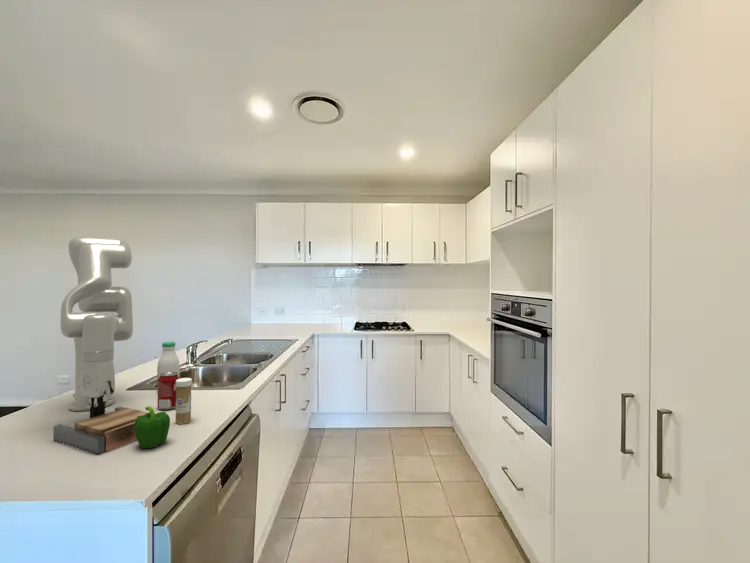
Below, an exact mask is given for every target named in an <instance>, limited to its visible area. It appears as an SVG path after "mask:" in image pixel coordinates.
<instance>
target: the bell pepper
mask: <svg viewBox="0 0 750 563" xmlns="http://www.w3.org/2000/svg"><path fill="white" fill-rule="evenodd" d="M144 409H145V411H147V412H148V411H149V412H148V413H147V414H145V415H142V416H138V417H137V419H136V421H135V424H134V431H135V435H136V438H137V440H136V441H137V444H138V445H139V446H140V447H141V448H143V449H151V448H155V447H157V446H159V445H161V444H163V443H165V442H166V440H167V438H168V434H169V431H170V427H171V418H170V416H169V414H168V413H166V412H165V411H159V412H157V413H155V409H154V408H153V407H151V406H149V405H148V406H145V407H144Z"/></svg>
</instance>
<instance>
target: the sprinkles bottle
mask: <svg viewBox="0 0 750 563" xmlns="http://www.w3.org/2000/svg"><path fill="white" fill-rule="evenodd" d="M192 385H193V379H192V378H191V377H180V379H177V380H176V408H175V422H174V423H175V424H178V425H183V424H188V423H190V422H191V421H192Z"/></svg>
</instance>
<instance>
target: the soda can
mask: <svg viewBox="0 0 750 563" xmlns="http://www.w3.org/2000/svg"><path fill="white" fill-rule="evenodd" d="M177 379H181V377H180V375H179V376H178V372H164V373H161V374H160V377H159V379H158V393H157V409H159V410H161V411H170V410H174V409H176V380H177Z"/></svg>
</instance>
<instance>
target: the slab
mask: <svg viewBox="0 0 750 563" xmlns="http://www.w3.org/2000/svg"><path fill="white" fill-rule="evenodd" d="M147 413H148V411H143V410H140V409H139V410H138V409H134V408H132V407H131V408H130V407H124V408H123V409H119V410H116V411H115V410H112V411H110V412H105V414H103V415H99V416H96V417H93V418H90V417H89V418H87V419H82V420H79V421H77V422H74V425H73V426H74V427H73V428H75V429H78V430H82V431H86V432H89V433H93V434H96V435H100V436H103V437H104V432H106V431H109V430H112V429H115V428H118V427H121V426H124V425H127V424H130V423H133V422H135V421H136V419H137V417H138V416H142V415H145V414H147Z"/></svg>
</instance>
